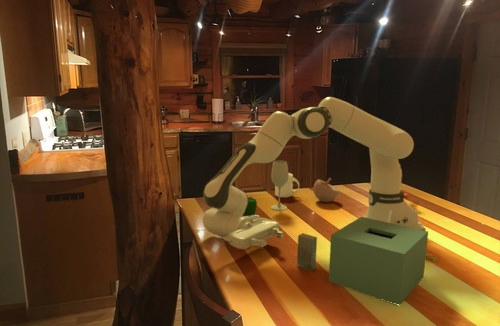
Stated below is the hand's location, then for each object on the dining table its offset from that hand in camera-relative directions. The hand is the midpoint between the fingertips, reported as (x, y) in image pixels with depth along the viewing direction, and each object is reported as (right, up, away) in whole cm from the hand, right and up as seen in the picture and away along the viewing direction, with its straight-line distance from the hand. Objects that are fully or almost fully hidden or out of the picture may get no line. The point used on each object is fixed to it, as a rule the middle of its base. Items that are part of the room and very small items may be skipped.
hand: (273, 239), depth 129 cm
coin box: (+29, -9, -14) cm, 33 cm away
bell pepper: (-9, +2, +40) cm, 41 cm away
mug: (+11, +8, +71) cm, 72 cm away
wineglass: (+5, +4, +52) cm, 52 cm away
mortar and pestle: (+28, +6, +62) cm, 68 cm away
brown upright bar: (+10, -7, -6) cm, 14 cm away
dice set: (+49, -7, +1) cm, 50 cm away
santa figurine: (+60, +6, +62) cm, 87 cm away
